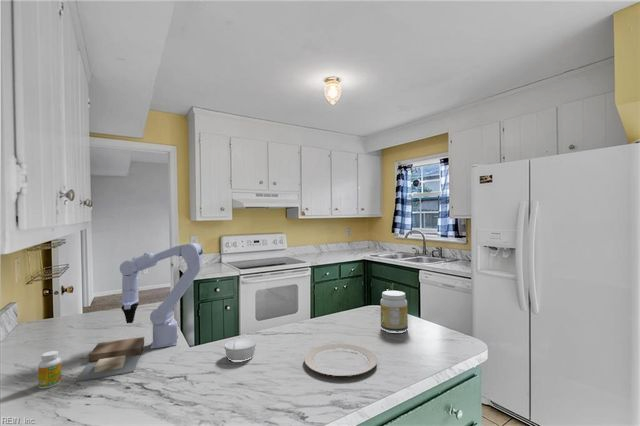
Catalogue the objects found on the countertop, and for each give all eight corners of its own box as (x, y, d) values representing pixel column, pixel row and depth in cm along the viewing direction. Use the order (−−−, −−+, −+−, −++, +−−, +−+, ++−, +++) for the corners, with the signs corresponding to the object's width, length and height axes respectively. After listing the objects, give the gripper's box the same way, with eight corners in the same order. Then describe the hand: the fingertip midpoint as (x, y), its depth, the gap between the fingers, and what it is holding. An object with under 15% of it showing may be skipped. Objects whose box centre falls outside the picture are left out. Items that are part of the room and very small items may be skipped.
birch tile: (122, 362, 108) (122, 368, 108) (125, 355, 114) (125, 361, 114) (94, 366, 105) (94, 372, 105) (99, 359, 111) (99, 365, 111)
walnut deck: (144, 344, 130) (144, 336, 130) (139, 355, 119) (139, 347, 119) (98, 350, 124) (98, 343, 124) (89, 363, 113) (89, 354, 113)
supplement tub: (380, 325, 151) (379, 289, 151) (406, 326, 149) (405, 290, 149) (381, 334, 138) (380, 295, 139) (409, 335, 137) (409, 296, 137)
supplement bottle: (47, 390, 95) (47, 357, 96) (33, 388, 96) (33, 356, 97) (65, 381, 101) (65, 350, 101) (51, 379, 102) (52, 349, 102)
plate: (338, 343, 129) (337, 338, 129) (391, 363, 111) (391, 357, 111) (289, 363, 111) (289, 358, 111) (343, 391, 93) (343, 384, 93)
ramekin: (218, 358, 116) (218, 343, 117) (244, 348, 125) (244, 335, 125) (235, 367, 109) (235, 352, 109) (261, 357, 117) (261, 342, 117)
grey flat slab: (139, 355, 119) (139, 354, 119) (133, 372, 106) (133, 371, 106) (88, 363, 113) (88, 362, 113) (75, 381, 100) (75, 380, 100)
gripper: (122, 286, 135) (122, 318, 134) (115, 294, 121) (114, 329, 121) (141, 285, 137) (140, 316, 137) (136, 292, 124) (135, 327, 124)
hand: (130, 322), depth 129 cm, fingers closed
